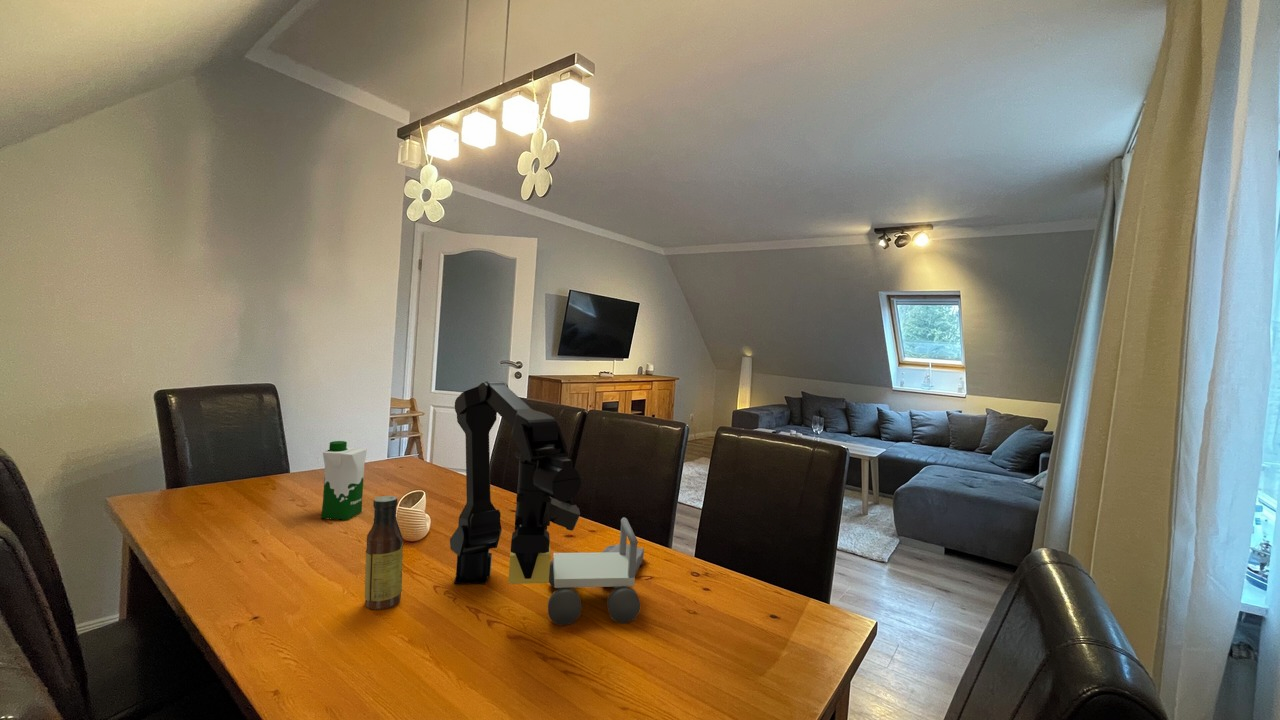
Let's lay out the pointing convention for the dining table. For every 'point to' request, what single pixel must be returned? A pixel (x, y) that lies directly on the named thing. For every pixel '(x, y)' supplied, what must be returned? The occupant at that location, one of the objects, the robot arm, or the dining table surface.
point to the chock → (539, 571)
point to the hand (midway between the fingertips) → (528, 572)
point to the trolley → (595, 580)
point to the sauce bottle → (384, 556)
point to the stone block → (638, 556)
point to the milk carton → (343, 481)
